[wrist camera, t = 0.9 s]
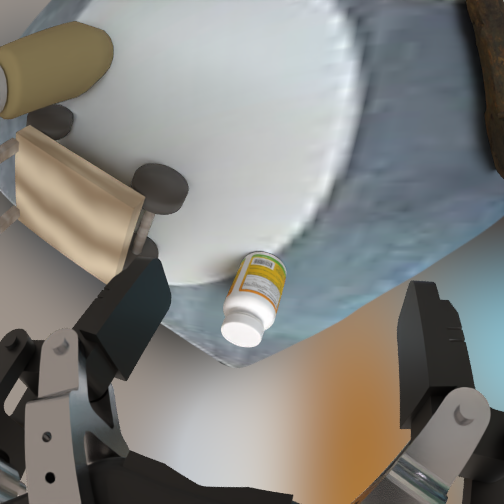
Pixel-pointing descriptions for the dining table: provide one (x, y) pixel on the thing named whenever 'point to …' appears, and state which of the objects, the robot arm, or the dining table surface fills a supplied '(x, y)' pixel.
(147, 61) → the dining table surface
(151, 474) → the robot arm
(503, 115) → the hand tool
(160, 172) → the trolley
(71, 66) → the squeeze bottle
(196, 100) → the dining table surface
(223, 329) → the supplement bottle
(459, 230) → the dining table surface
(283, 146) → the dining table surface
